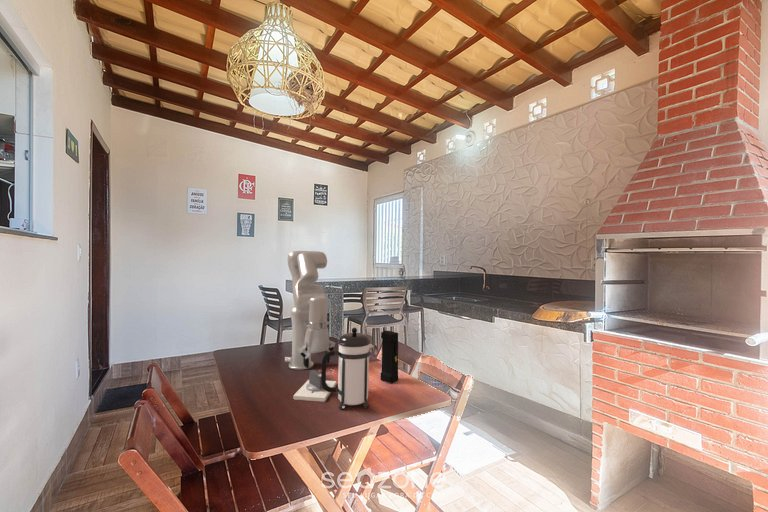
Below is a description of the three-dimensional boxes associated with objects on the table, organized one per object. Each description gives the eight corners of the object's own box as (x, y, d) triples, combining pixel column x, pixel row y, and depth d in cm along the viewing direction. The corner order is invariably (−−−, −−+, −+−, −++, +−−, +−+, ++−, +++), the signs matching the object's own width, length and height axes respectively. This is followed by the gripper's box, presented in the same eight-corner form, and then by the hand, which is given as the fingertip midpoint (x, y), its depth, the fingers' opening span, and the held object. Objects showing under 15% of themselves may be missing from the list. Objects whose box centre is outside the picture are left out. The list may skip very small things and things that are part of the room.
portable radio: (400, 381, 159) (401, 327, 159) (392, 384, 155) (393, 329, 154) (388, 376, 164) (389, 325, 164) (379, 379, 160) (380, 326, 160)
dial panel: (293, 399, 137) (293, 395, 137) (308, 382, 155) (308, 378, 155) (324, 401, 136) (324, 397, 136) (336, 384, 153) (336, 380, 153)
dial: (302, 386, 147) (302, 372, 147) (320, 381, 153) (320, 367, 153) (312, 392, 140) (313, 378, 140) (331, 387, 146) (331, 373, 146)
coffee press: (351, 391, 146) (352, 321, 146) (379, 402, 136) (380, 327, 136) (319, 405, 133) (320, 328, 132) (348, 418, 123) (349, 335, 122)
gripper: (331, 321, 154) (330, 358, 155) (295, 326, 144) (294, 365, 145) (339, 324, 148) (338, 363, 149) (302, 330, 138) (301, 371, 139)
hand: (316, 364), depth 147 cm, fingers open, 9 cm apart
